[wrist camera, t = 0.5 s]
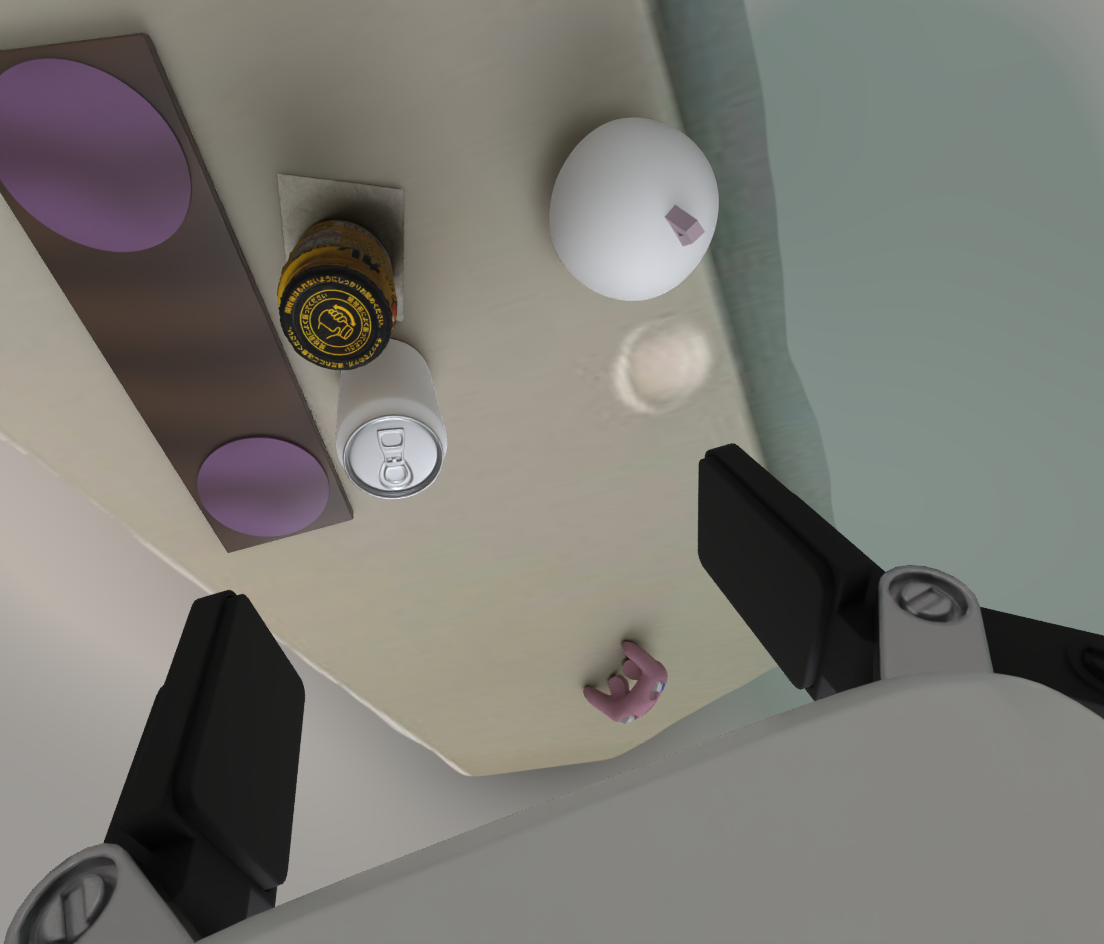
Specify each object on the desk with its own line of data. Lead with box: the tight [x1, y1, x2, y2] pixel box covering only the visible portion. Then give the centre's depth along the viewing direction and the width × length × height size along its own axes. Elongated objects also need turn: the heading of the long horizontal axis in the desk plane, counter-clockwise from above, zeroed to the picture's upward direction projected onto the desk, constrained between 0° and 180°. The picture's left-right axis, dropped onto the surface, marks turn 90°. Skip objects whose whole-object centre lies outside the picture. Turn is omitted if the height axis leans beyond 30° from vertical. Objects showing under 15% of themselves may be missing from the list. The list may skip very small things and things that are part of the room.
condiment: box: [277, 174, 404, 370], centre depth 32 cm, size 7×8×12 cm
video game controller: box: [583, 641, 668, 724], centre depth 67 cm, size 10×5×7 cm, turn 146°
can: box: [336, 339, 447, 499], centre depth 37 cm, size 6×6×12 cm
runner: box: [0, 33, 353, 553], centre depth 36 cm, size 32×10×1 cm, turn 8°
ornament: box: [549, 117, 719, 301], centre depth 34 cm, size 10×10×12 cm
